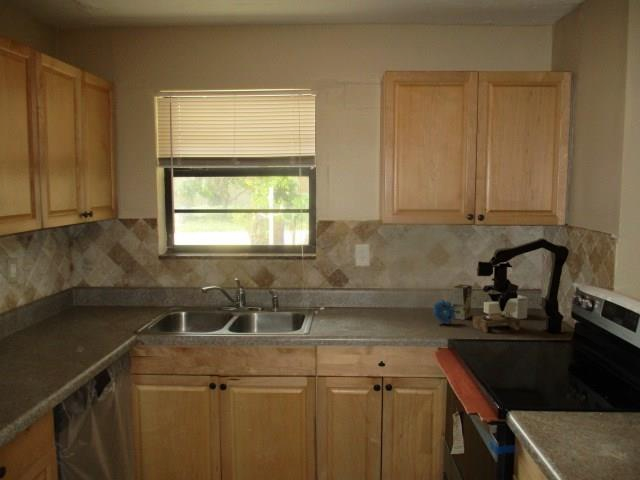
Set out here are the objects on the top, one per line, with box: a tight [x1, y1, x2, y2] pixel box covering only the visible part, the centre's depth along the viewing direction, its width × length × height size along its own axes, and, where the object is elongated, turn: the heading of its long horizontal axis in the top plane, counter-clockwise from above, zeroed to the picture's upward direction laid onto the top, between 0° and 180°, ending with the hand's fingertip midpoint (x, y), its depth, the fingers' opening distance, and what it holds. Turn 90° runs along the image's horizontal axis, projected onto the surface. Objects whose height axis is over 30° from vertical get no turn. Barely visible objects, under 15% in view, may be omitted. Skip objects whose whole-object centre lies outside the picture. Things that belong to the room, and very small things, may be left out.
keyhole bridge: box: [472, 313, 521, 333], centre depth 245 cm, size 11×18×5 cm, turn 105°
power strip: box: [483, 300, 516, 320], centre depth 242 cm, size 4×14×7 cm, turn 105°
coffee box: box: [452, 284, 473, 321], centre depth 264 cm, size 9×6×16 cm
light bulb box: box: [501, 294, 529, 320], centre depth 267 cm, size 11×7×11 cm, turn 25°
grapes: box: [431, 299, 456, 325], centre depth 251 cm, size 12×7×12 cm, turn 97°
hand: (499, 310), depth 242 cm, fingers closed on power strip, 4 cm apart
